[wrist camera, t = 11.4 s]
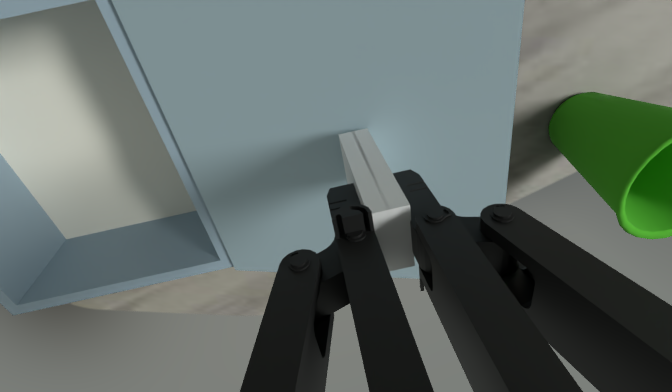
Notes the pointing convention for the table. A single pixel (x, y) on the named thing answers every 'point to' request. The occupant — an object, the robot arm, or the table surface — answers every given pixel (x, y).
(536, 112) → the table surface
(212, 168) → the lid
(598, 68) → the table surface
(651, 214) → the cup
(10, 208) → the box
